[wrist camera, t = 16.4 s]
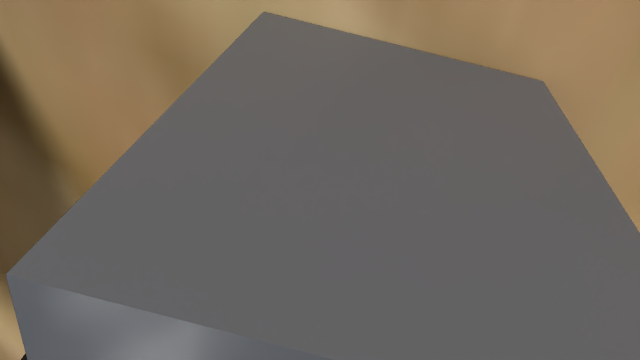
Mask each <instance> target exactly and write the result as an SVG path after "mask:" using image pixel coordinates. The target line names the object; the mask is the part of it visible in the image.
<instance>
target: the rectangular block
mask: <svg viewBox="0 0 640 360" xmlns="http://www.w3.org/2000/svg"><path fill="white" fill-rule="evenodd" d="M6 278H7V282H8V286H9V290H10V294H11V298H12V302H13V306H14V310H15V313H16V317H17V321H18V325H19V329H20V333H21V337H22V341H23V344H24V348H25V352H26V356H27V360H640V233H639V231H638V230H637V228H636V227H635V225H634V223H633V222H632V220H631V219H630V217H629V216H628V214H627V212H626V211H625V209H624V208H623V206H622V205H621V203H620V201H619V200H618V198H617V197H616V195H615V194H614V192H613V190H612V189H611V187H610V186H609V184H608V183H607V181H606V179H605V178H604V176H603V175H602V173H601V172H600V170H599V168H598V167H597V165H596V164H595V162H594V161H593V159H592V157H591V156H590V154H589V153H588V151H587V150H586V148H585V146H584V145H583V143H582V142H581V140H580V139H579V137H578V135H577V134H576V132H575V131H574V129H573V128H572V126H571V124H570V123H569V121H568V120H567V118H566V117H565V115H564V113H563V112H562V110H561V109H560V107H559V105H558V104H557V102H556V101H555V99H554V98H553V96H552V94H551V93H550V91H549V90H548V88H547V87H546V85H545V83H544V82H543V81H540V80H536V79H532V78H528V77H524V76H520V75H516V74H512V73H508V72H504V71H500V70H495V69H491V68H487V67H483V66H479V65H475V64H471V63H467V62H463V61H459V60H455V59H451V58H447V57H443V56H439V55H435V54H431V53H427V52H423V51H419V50H415V49H411V48H407V47H403V46H399V45H395V44H391V43H387V42H383V41H379V40H375V39H371V38H367V37H363V36H359V35H355V34H351V33H347V32H343V31H339V30H335V29H331V28H327V27H323V26H319V25H315V24H311V23H307V22H303V21H299V20H295V19H291V18H287V17H283V16H279V15H275V14H271V13H267V12H263V13H262V14H261V15H260V16H259V17H258V18H257V19H256V20H255V21H254V22H253V23H252V24H251V25H250V26H249V27H248V28H247V29H246V30H245V31H244V32H243V33H242V34H241V35H240V36H239V37H238V38H237V39H236V40H235V41H234V42H233V43H232V44H231V45H230V46H229V47H228V48H227V49H226V50H225V51H224V52H223V53H222V54H221V55H220V56H219V57H218V59H217V60H216V61H215V62H214V63H213V64H212V65H211V66H210V67H209V68H208V69H207V70H206V71H205V72H204V73H203V74H202V75H201V76H200V77H199V78H198V79H197V80H196V81H195V82H194V83H193V84H192V85H191V86H190V87H189V88H188V89H187V90H186V91H185V92H184V93H183V94H182V95H181V96H180V97H179V98H178V99H177V100H176V101H175V102H174V103H173V104H172V105H171V106H170V107H169V108H168V109H167V110H166V111H165V113H164V114H163V115H162V116H161V117H160V118H159V119H158V120H157V121H156V122H155V123H154V124H153V125H152V126H151V127H150V128H149V129H148V130H147V131H146V132H145V133H144V134H143V135H142V136H141V137H140V138H139V139H138V140H137V141H136V142H135V143H134V144H133V145H132V146H131V147H130V148H129V149H128V150H127V151H126V152H125V153H124V154H123V155H122V156H121V157H120V158H119V159H118V160H117V161H116V162H115V163H114V164H113V165H112V167H111V168H110V169H109V170H108V171H107V172H106V173H105V174H104V175H103V176H102V177H101V178H100V179H99V180H98V181H97V182H96V183H95V184H94V185H93V186H92V187H91V188H90V189H89V190H88V191H87V192H86V193H85V194H84V195H83V196H82V197H81V198H80V199H79V200H78V201H77V202H76V203H75V204H74V205H73V206H72V207H71V208H70V209H69V210H68V211H67V212H66V213H65V214H64V215H63V216H62V217H61V218H60V220H59V221H58V222H57V223H56V224H55V225H54V226H53V227H52V228H51V229H50V230H49V231H48V232H47V233H46V234H45V235H44V236H43V237H42V238H41V239H40V240H39V241H38V242H37V243H36V244H35V245H34V246H33V247H32V248H31V249H30V250H29V251H28V252H27V253H26V254H25V255H24V256H23V257H22V258H21V259H20V260H19V261H18V262H17V263H16V264H15V265H14V266H13V267H12V268H11V269H10V270H9V271H8V272H7V274H6Z"/></svg>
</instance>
